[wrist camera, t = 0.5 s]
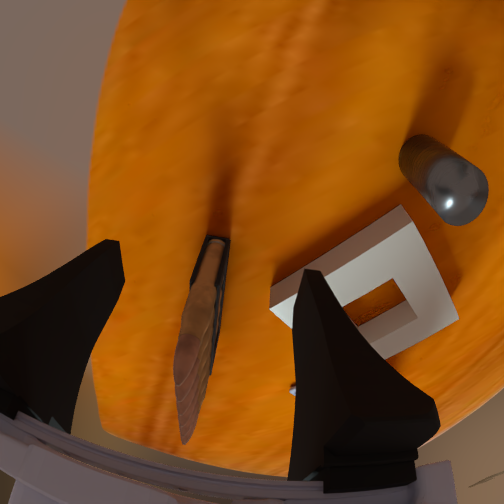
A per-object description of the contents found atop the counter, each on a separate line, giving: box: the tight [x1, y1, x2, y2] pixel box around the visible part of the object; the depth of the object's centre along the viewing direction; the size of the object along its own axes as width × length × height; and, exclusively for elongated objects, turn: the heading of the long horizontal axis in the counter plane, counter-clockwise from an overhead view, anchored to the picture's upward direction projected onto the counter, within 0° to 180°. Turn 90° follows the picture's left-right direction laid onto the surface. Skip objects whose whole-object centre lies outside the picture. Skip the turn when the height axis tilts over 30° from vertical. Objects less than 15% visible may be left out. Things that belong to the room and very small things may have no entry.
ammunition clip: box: [173, 235, 231, 445], centre depth 21 cm, size 11×2×12 cm, turn 172°
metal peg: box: [399, 135, 489, 226], centre depth 16 cm, size 4×4×6 cm
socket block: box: [269, 204, 459, 360], centre depth 24 cm, size 12×12×2 cm
